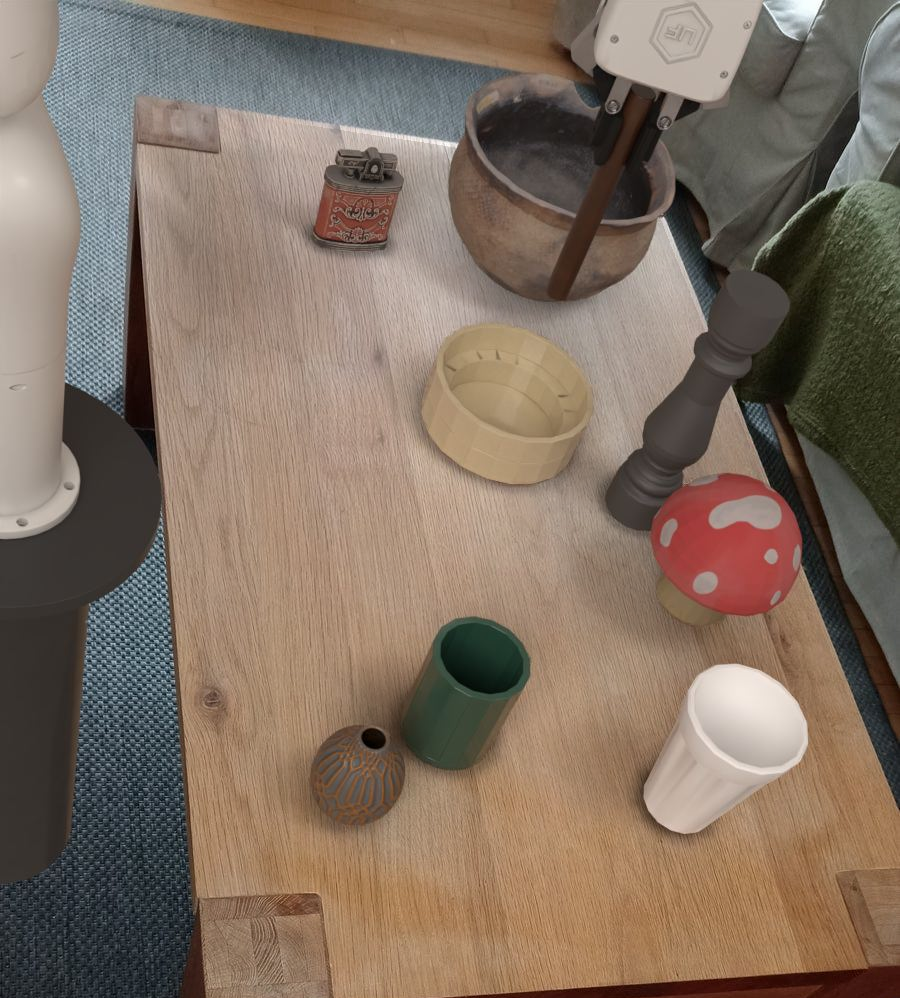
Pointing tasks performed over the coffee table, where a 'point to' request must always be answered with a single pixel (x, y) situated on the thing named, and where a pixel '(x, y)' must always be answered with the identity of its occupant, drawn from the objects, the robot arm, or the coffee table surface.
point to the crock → (464, 692)
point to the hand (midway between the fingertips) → (614, 158)
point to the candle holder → (697, 397)
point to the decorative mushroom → (725, 549)
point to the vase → (357, 774)
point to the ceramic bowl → (546, 188)
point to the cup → (724, 746)
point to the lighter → (357, 201)
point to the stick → (600, 193)
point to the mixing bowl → (506, 403)
